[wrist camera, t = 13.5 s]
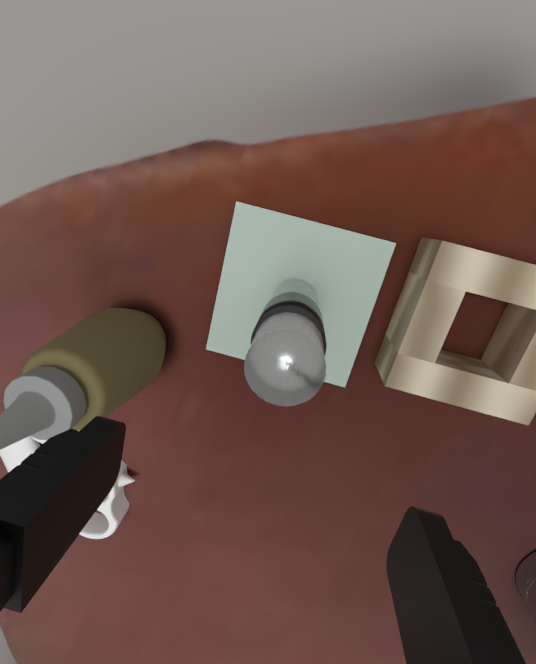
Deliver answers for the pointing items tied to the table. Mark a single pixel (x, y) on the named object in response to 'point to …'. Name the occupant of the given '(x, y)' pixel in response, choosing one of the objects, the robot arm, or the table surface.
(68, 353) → the squeeze bottle
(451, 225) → the table surface
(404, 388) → the eye block
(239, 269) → the sage mat
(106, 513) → the white brass knuckles
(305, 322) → the steel peg
